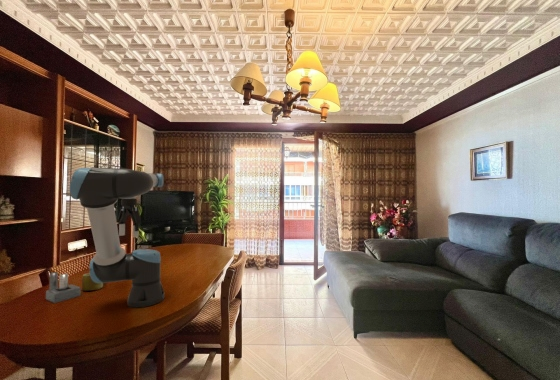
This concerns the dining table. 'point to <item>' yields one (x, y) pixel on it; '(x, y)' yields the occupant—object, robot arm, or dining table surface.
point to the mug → (90, 283)
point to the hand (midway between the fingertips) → (128, 236)
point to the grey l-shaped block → (59, 296)
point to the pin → (63, 282)
